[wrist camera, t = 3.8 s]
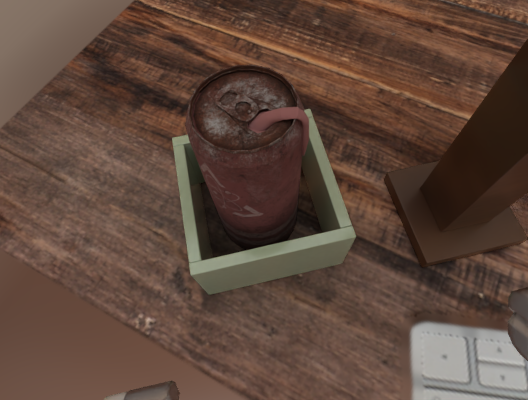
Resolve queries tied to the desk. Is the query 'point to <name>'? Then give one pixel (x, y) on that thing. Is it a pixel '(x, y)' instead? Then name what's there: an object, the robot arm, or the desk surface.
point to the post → (471, 179)
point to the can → (250, 150)
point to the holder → (271, 256)
